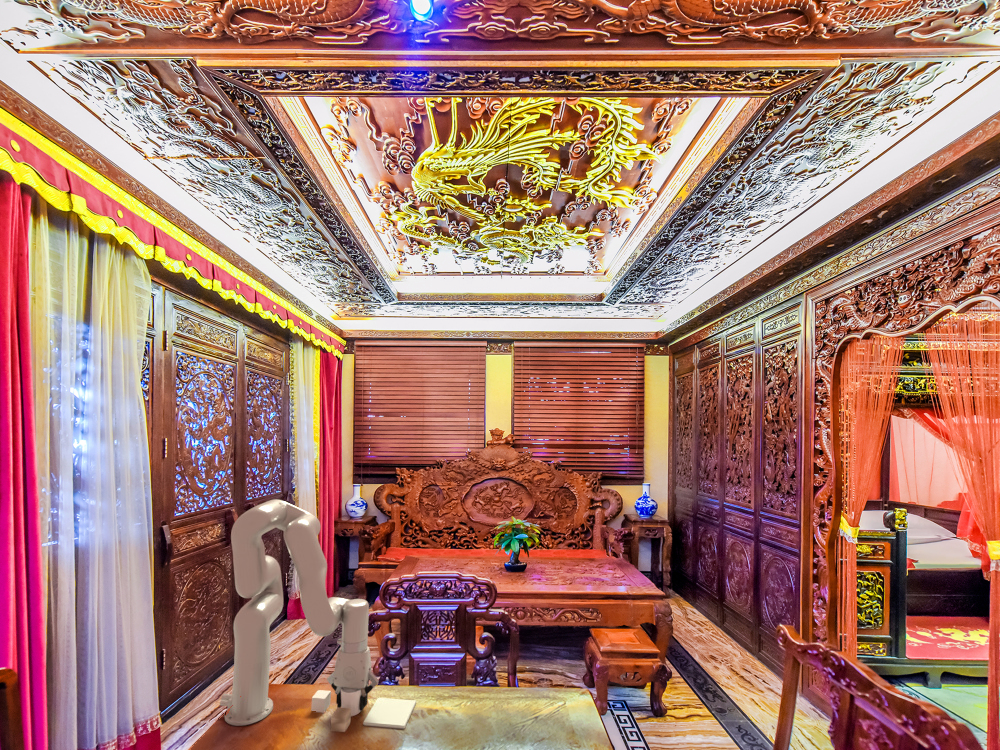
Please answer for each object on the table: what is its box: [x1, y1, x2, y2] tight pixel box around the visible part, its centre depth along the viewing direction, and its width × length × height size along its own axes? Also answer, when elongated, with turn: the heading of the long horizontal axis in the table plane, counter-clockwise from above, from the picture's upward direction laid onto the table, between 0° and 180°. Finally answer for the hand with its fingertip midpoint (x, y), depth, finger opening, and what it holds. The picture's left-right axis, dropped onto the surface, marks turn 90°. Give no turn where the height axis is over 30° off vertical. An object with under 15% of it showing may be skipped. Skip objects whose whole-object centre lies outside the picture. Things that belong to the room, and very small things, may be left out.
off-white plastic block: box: [310, 689, 332, 714], centre depth 143 cm, size 4×4×4 cm
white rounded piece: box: [341, 687, 362, 717], centre depth 142 cm, size 7×7×7 cm
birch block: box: [330, 707, 352, 733], centre depth 135 cm, size 4×4×4 cm
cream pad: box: [362, 697, 417, 730], centre depth 141 cm, size 12×12×1 cm
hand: (351, 706), depth 142 cm, fingers closed on white rounded piece, 6 cm apart
